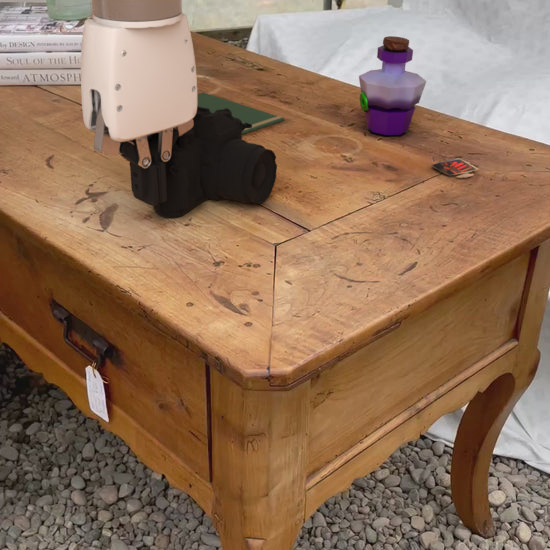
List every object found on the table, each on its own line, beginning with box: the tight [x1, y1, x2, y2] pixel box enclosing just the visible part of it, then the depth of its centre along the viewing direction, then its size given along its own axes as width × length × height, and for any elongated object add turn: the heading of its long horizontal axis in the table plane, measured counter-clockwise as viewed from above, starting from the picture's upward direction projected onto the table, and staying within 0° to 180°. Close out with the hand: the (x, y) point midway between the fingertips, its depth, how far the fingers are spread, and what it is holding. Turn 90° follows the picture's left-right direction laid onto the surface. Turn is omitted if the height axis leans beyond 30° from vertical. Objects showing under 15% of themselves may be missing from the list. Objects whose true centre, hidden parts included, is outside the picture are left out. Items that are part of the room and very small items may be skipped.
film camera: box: [152, 106, 278, 219], centre depth 81 cm, size 15×10×9 cm, turn 152°
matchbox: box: [431, 157, 479, 179], centre depth 91 cm, size 5×5×1 cm
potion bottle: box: [358, 35, 427, 138], centre depth 100 cm, size 9×9×12 cm
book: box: [197, 92, 285, 136], centre depth 104 cm, size 18×16×1 cm
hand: (150, 199), depth 75 cm, fingers closed
